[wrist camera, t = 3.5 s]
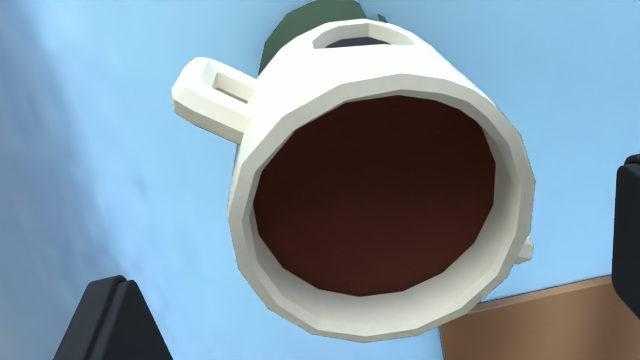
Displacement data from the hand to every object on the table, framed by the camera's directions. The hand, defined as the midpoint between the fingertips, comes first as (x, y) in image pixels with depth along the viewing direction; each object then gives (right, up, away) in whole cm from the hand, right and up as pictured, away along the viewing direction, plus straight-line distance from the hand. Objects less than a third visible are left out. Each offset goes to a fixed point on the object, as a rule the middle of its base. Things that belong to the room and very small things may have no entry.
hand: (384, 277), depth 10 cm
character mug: (-1, +7, +13) cm, 15 cm away
